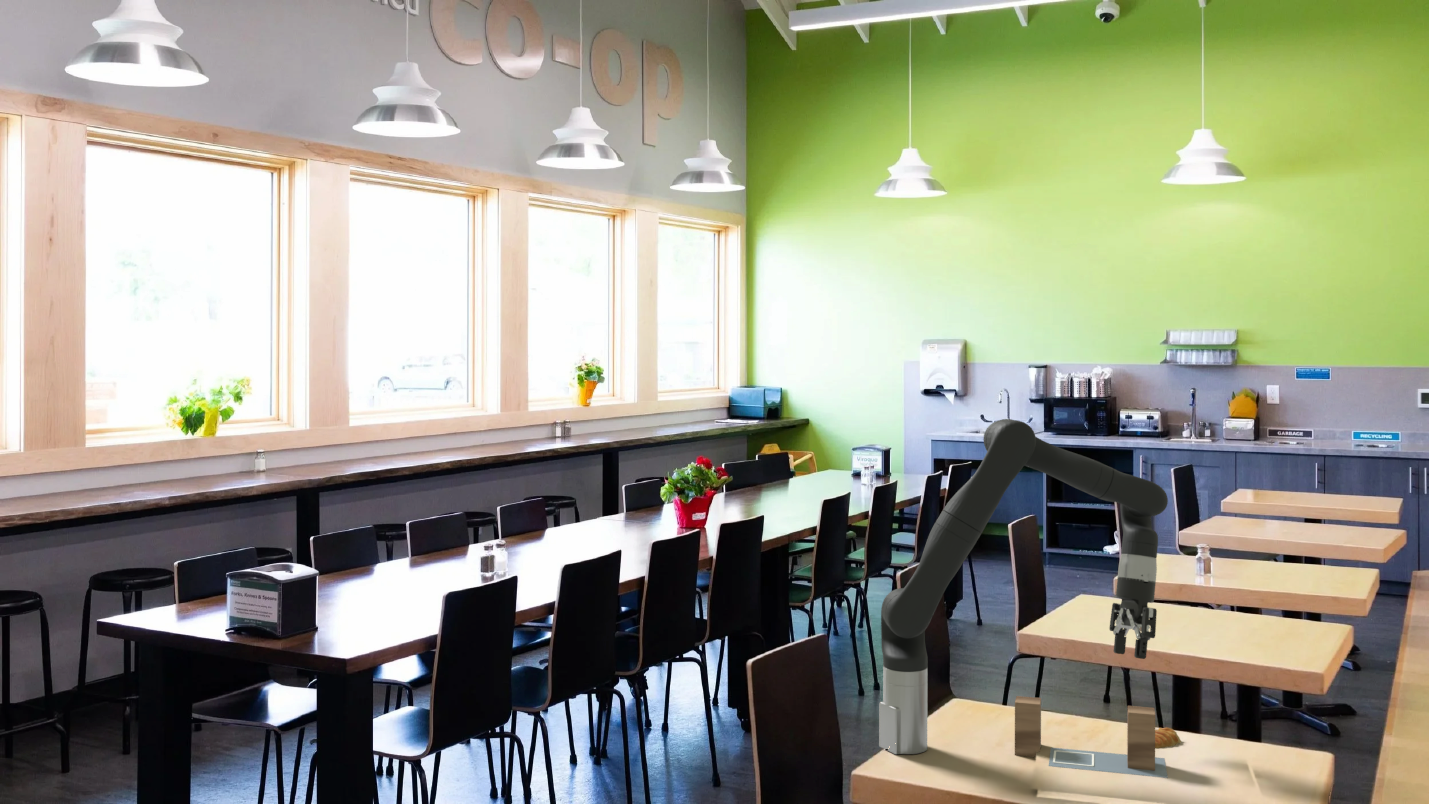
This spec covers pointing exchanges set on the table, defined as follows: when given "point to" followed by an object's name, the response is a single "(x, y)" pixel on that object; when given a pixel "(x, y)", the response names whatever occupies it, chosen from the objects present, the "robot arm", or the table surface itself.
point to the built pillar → (1141, 738)
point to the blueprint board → (1101, 762)
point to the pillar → (1027, 726)
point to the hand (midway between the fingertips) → (1129, 656)
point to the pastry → (1166, 738)
